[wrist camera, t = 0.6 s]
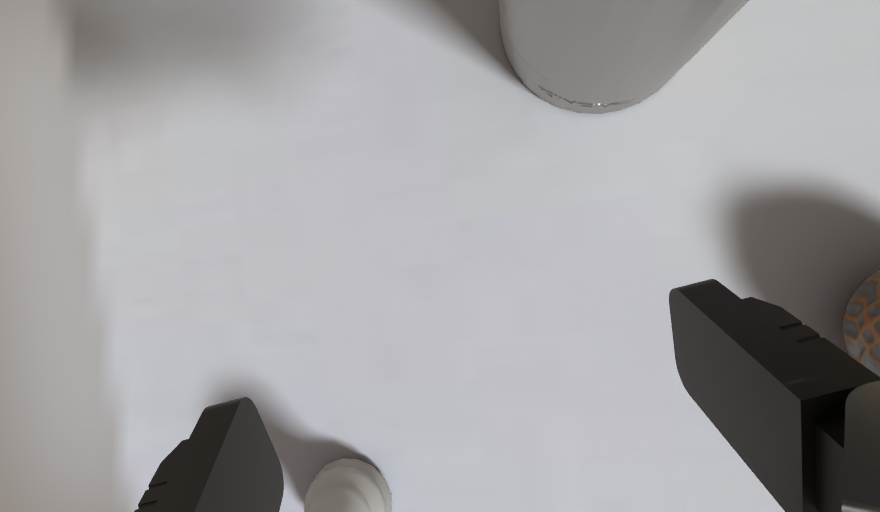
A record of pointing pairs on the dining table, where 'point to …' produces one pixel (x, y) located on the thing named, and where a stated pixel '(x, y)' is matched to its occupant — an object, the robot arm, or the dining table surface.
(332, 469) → the rook chess piece
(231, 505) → the robot arm
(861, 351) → the vase
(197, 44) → the dining table surface
